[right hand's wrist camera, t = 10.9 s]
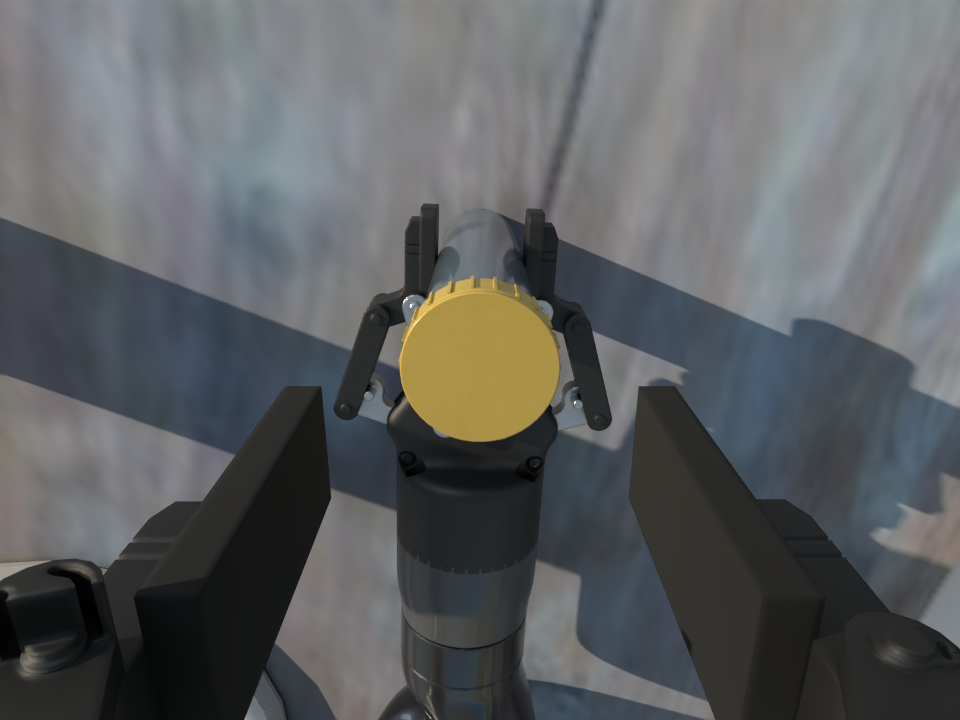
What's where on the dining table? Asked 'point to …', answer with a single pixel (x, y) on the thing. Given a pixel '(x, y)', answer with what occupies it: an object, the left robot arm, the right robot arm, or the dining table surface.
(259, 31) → the dining table surface
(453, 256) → the gray cylinder
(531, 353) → the lid
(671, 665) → the dining table surface
